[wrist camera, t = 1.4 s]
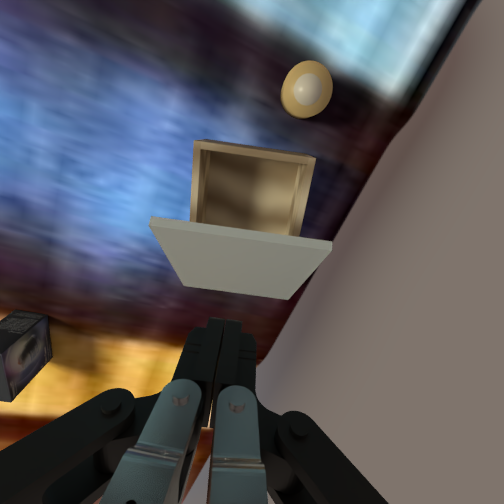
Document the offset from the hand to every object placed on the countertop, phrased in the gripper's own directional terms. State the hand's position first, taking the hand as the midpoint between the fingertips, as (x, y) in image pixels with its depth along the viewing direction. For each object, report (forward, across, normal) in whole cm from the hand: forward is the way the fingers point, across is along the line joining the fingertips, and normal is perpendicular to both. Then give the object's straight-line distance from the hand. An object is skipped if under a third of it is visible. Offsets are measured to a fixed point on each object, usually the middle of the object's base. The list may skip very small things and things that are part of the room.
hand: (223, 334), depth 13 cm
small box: (+32, +37, +32) cm, 58 cm away
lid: (+17, 0, +5) cm, 18 cm away
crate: (+32, 0, +2) cm, 32 cm away
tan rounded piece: (+32, -5, -14) cm, 35 cm away
